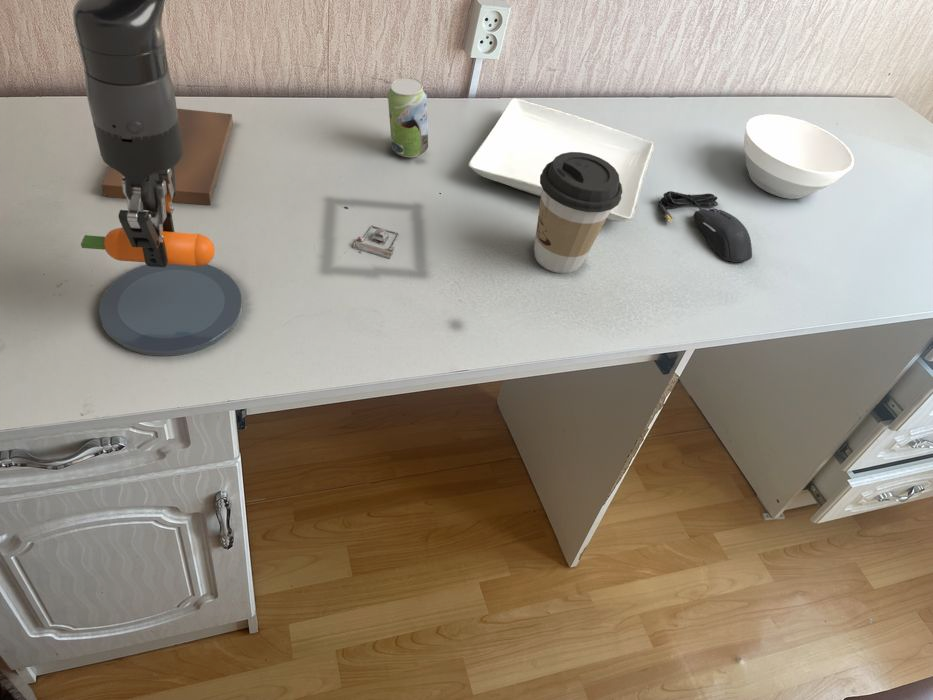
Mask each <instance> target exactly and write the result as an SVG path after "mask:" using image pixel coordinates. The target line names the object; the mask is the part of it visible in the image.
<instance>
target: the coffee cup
mask: <svg viewBox="0 0 933 700" xmlns="http://www.w3.org/2000/svg"><path fill="white" fill-rule="evenodd" d="M540 184H541V186H542V193H541V197H540V201H539V207H538V208H539V209H538V216H537V223H536V229H535V230H536V231H535V238H534V245H533V252H534V258H535V260H536V262H537V263H538V264H539V265H540V266H541V267H542V268H543V269H545V270H547V271H550V272H552V273H555V274H570V273H574V272H576V271H577V270H578V269H579V268H580V266H582V265H583V263H584V261H585V260H586V257H587V256H588V254H589V252H590V250H591V249H592V246H593V245H594V243H595V242H596V239H597V237H598V235H599V234H600V232H601V230H602V229H603V226H604V224H605V223H606V220H607V219H608V218H607V217H608V215H609V213H610V211H611V210H612V209H613V208H614V207H616V206H617V205H618V204H619V202H620V200H621V195H622V185H621V183H620V180H619V174H618V173H617V171H616V169H615V168H614V167H613V166H612V165H610V164H609V163H608V162H606V161H605V160H603V159H601V158H599V157H597V156H594V155H591V154H587V153H582V152H568V153H563V154H560V155H558V156H557V157H555V159H554V160H553V161H552V162H550V163H548V164H547V165H546V166H545V168H544V169H543V171H542V174H541V175H540Z"/></svg>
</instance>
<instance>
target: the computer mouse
mask: <svg viewBox="0 0 933 700" xmlns="http://www.w3.org/2000/svg"><path fill="white" fill-rule="evenodd" d="M717 200H718V196H716V195H715V194H713V193H701V194H687V193H686V194H685V193H681V192H677V191H673V190H672V191H671V190H669V191H667V192H664V193H663V196H662V197H661V198H660V200H658V204H657V208H658V210H659V212H660V213H661V215H662V216H663V218H664V219H665V220H666V221H668V222H669V223H670V224H673V223H674V221H673V217H672V215H671V214H670V213H669V211H668V210H672V209H676V208H682V207H685V206H690V207H691V206H696V207H697V208H698V210H695V211H694V213H693V216H692V217H693V221H694V224H695V225H696V227H697V228H698V229H699V230H700V231H701V232H702V233H703V235H704V237H705V238H706V240H707V242H708V244H709V246H710V247H711V249H712V250H713V252H714V253H716V255H718V256H719V258H722V259H723V260H725V261H728V262H732V263H743V262H747V261H749V260H751V259H752V258H753V247H752V240H751V236H750V234H749V231H748V229H747V228H746V226H745V225H744V224H743V222H742V221H740V219H738V218H737V217H736V216H734V215H732V214H731V213H729V212H726V211H724V210H722V209H718V208H713V207H717V206H719V202H717ZM702 207H709V208H708V209H706V208H702ZM711 207H712V208H711ZM667 209H668V210H667Z"/></svg>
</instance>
